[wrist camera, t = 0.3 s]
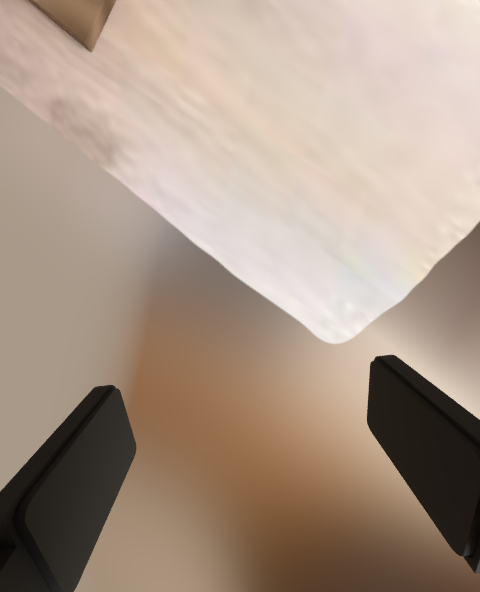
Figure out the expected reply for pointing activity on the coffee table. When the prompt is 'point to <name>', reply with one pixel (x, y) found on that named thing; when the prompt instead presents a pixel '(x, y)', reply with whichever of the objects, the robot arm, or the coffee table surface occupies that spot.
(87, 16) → the pipe stand
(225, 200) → the coffee table surface
